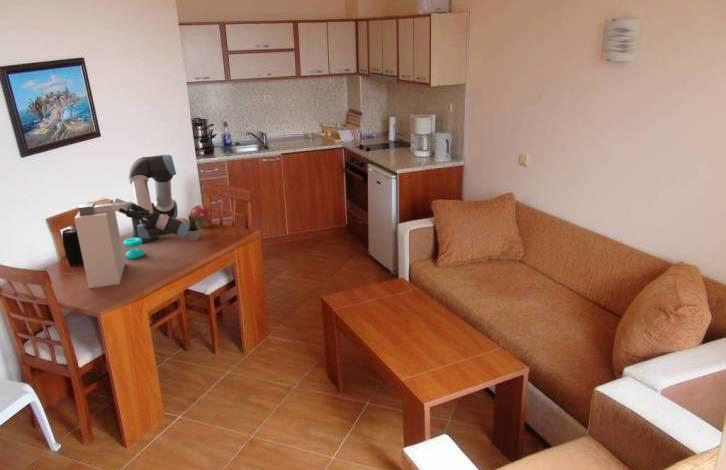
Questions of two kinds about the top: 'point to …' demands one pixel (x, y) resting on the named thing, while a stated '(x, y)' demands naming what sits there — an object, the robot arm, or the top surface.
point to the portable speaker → (72, 247)
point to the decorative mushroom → (201, 211)
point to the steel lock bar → (100, 208)
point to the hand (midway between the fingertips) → (113, 203)
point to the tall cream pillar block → (100, 247)
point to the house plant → (193, 227)
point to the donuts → (134, 252)
